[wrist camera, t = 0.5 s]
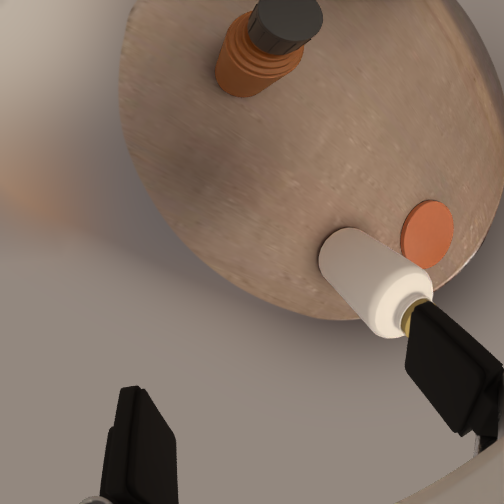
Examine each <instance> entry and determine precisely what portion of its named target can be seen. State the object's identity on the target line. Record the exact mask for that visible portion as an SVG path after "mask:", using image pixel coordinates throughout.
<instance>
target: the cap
mask: <svg viewBox="0 0 504 504" xmlns="http://www.w3.org/2000/svg"><path fill="white" fill-rule="evenodd" d="M248 20H249V21H248V26H247V30H248V35H249V37H250V39H251V41H252V42H253V43H254V44H255V45H256V46H257V47H258V48H259V49H261V50H262V51H264V52H267V53H269V54H274V55H285V54H289V53H291V52H293V51H295V50H298V49H299V48H300V47H302V46H303V45H304V44H306V43H307V42H308V41H310V40H311V38H312V37H313V36H315V35H316V34H317V33H318V32H319V30H320V29H321V26H322V23H323V14H322V11H321V8H320V6H319V4H318V3H317V2H316V0H259V2H258V4H256V6H255V8H254V9H253V11H252V13H251V15H250V17H249V19H248Z"/></svg>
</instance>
